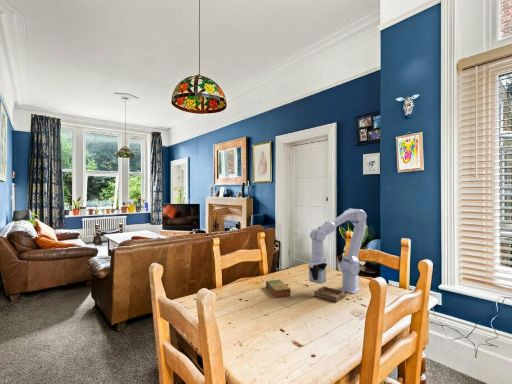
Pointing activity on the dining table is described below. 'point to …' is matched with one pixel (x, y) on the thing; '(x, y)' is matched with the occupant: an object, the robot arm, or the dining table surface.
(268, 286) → the carton
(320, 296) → the big crate
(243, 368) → the dining table surface
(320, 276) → the small crate
